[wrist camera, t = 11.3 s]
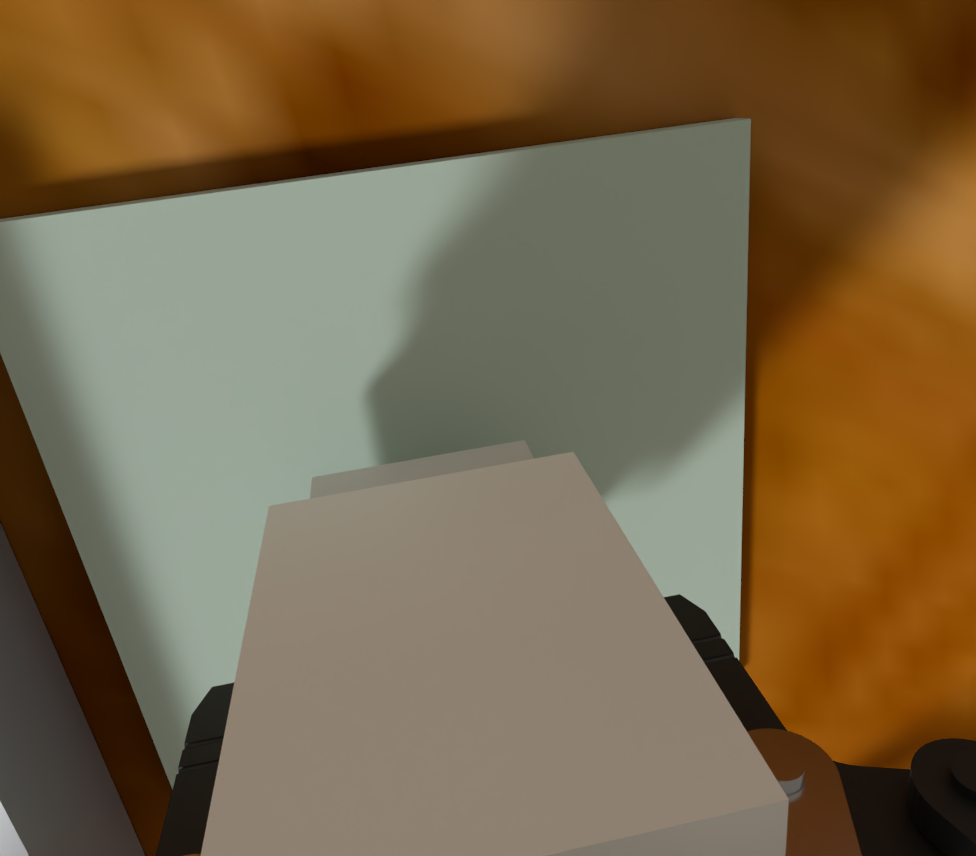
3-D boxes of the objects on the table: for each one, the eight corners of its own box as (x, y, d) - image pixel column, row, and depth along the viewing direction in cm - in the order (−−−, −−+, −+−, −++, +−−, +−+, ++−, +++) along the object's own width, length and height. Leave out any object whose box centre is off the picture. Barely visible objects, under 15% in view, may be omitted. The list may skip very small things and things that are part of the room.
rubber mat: (-33, 223, 13) (-49, 229, 13) (736, 117, 15) (751, 118, 14) (188, 798, 19) (183, 818, 19) (728, 683, 21) (738, 699, 20)
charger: (278, 457, 14) (181, 951, 6) (548, 411, 15) (795, 809, 6) (332, 673, 16) (316, 1256, 8) (567, 625, 17) (773, 1129, 9)
